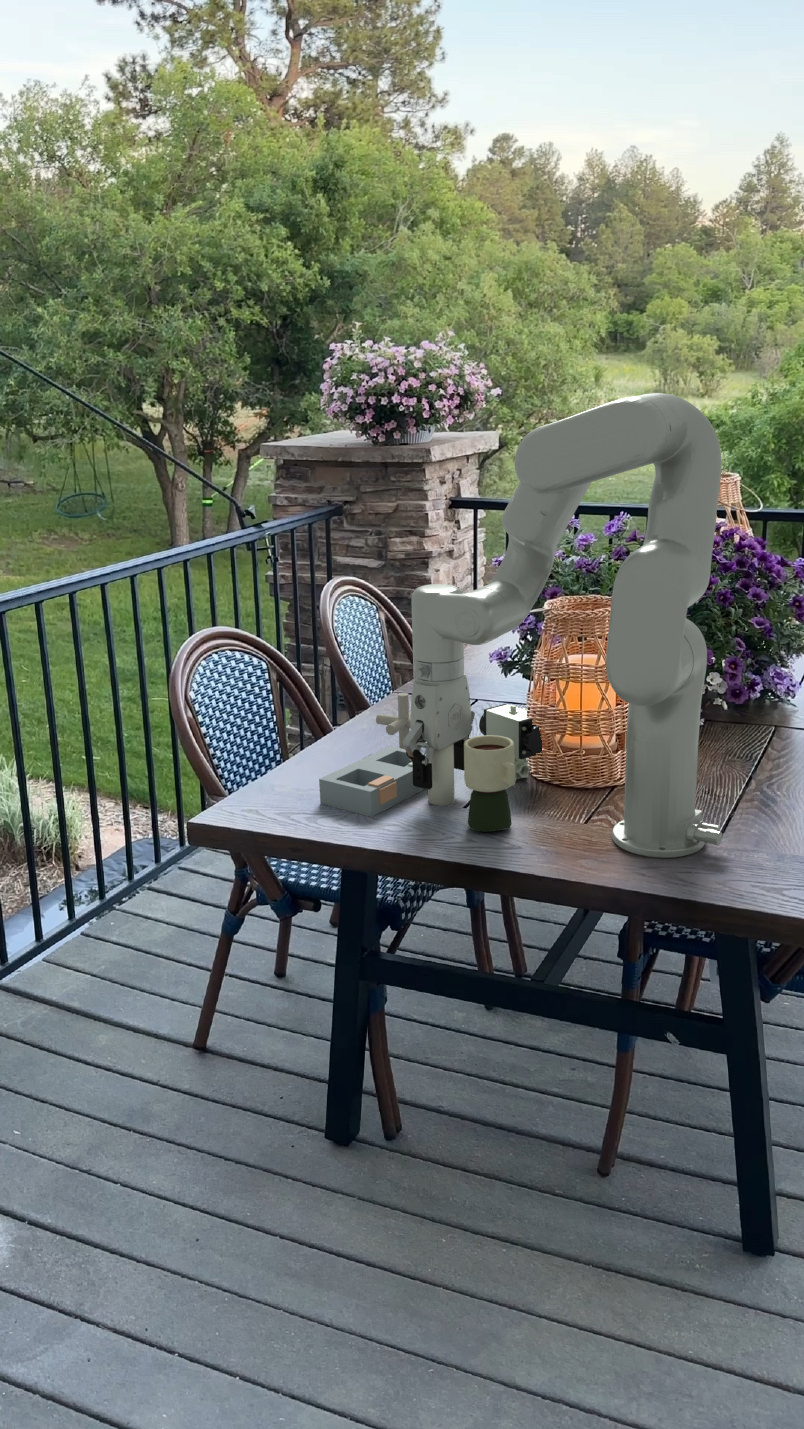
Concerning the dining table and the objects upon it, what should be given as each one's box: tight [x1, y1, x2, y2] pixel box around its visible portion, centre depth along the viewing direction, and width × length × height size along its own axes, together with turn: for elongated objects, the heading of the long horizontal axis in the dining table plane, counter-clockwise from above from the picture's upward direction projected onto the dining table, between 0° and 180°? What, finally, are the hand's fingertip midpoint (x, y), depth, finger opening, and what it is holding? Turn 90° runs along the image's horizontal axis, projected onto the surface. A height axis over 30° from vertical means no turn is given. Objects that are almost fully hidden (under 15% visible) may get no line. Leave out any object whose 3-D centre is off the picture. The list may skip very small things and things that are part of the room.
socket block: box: [318, 745, 425, 818], centre depth 182 cm, size 10×18×4 cm, turn 143°
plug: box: [427, 743, 456, 806], centre depth 177 cm, size 4×4×11 cm
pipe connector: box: [375, 692, 411, 749], centre depth 200 cm, size 10×10×10 cm
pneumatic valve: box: [478, 703, 542, 782], centre depth 186 cm, size 6×12×12 cm, turn 37°
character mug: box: [463, 735, 516, 833], centre depth 166 cm, size 11×7×13 cm, turn 35°
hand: (440, 777), depth 178 cm, fingers open, 9 cm apart
